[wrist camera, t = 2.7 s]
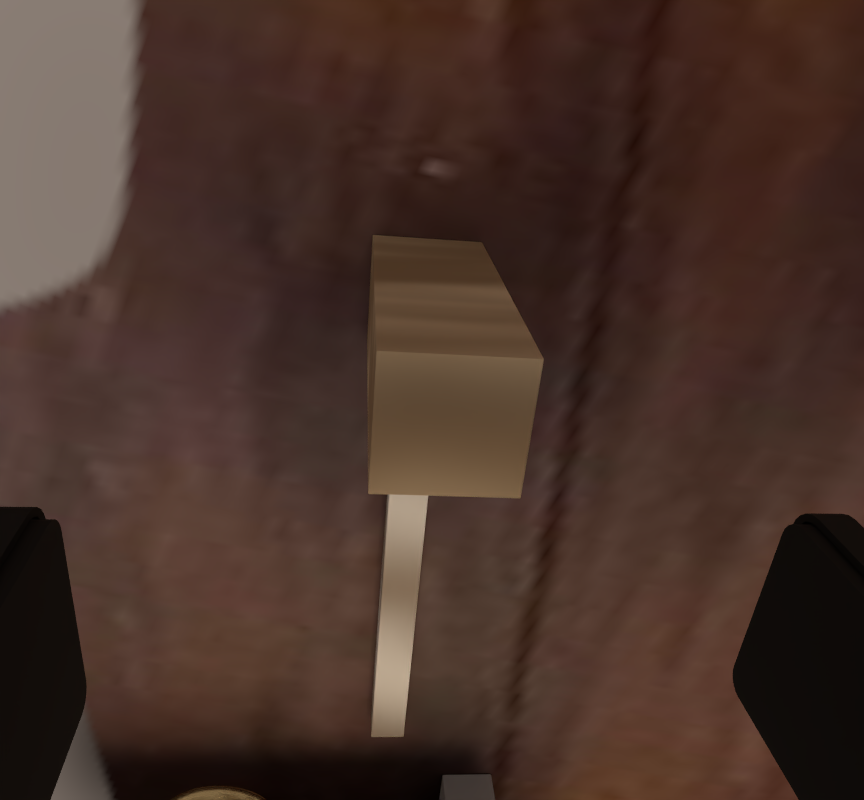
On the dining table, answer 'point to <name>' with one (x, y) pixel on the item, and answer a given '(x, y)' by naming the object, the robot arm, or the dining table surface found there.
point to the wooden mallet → (437, 417)
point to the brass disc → (219, 794)
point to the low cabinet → (467, 787)
